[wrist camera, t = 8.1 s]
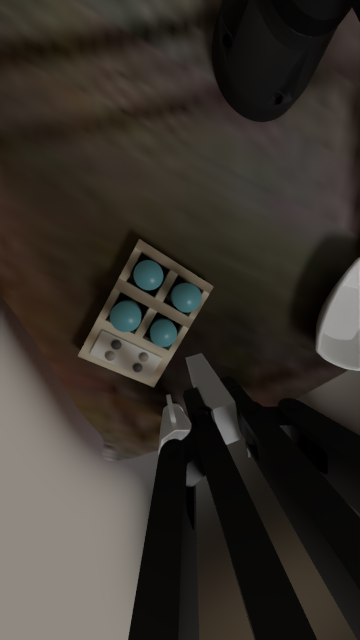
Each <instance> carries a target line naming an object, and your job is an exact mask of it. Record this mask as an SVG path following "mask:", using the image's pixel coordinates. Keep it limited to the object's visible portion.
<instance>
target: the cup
mask: <svg viewBox="0 0 360 640" xmlns="http://www.w3.org/2000/svg"><path fill="white" fill-rule="evenodd" d="M166 398H167V403H168V405H167V406H166V407H164V408H163V413H162V417H163V418H162V423H161V428H160V440H159V452H160V449H161V447H162V446H163V444H164V443H165V442H167V441H168V440H170V439H179V440H182V439H183V438H184V437H186V436H187V435H188V433H189V432H190V430H191V423H190V421H189V419H188V418H187V416H186V415H185V413H184V412H183V409H182V408H181V406H180V405H179V404H174V403H172V400H171V396H170V394H169V395H166ZM159 452H158V453H159Z"/></svg>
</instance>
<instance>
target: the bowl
mask: <svg viewBox="0 0 360 640" xmlns="http://www.w3.org/2000/svg"><path fill="white" fill-rule="evenodd" d="M316 351H317V353H318V354H319V355H320V356H321V357H322V358H323V359H325V360H327V361H329V362H331V363H332V364H334V365H337V366H339V367H342V368H345V369H350V370H356V371H360V258H358V259H356V260H355V262H354V263H353V264H352V265H351V266H350V267H349V268H348V270H347V271H346V272H345V273H344V274H343V276H342V277H341V278H340V279H339V281H338V282H337V283H336V285H335V286H334V287H333V288H332V290H331V291H330V293H329V295H328V296H327V298H326V299H325V301H324V303H323V305H322V308H321V310H320V313H319V316H318V320H317V324H316Z"/></svg>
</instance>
